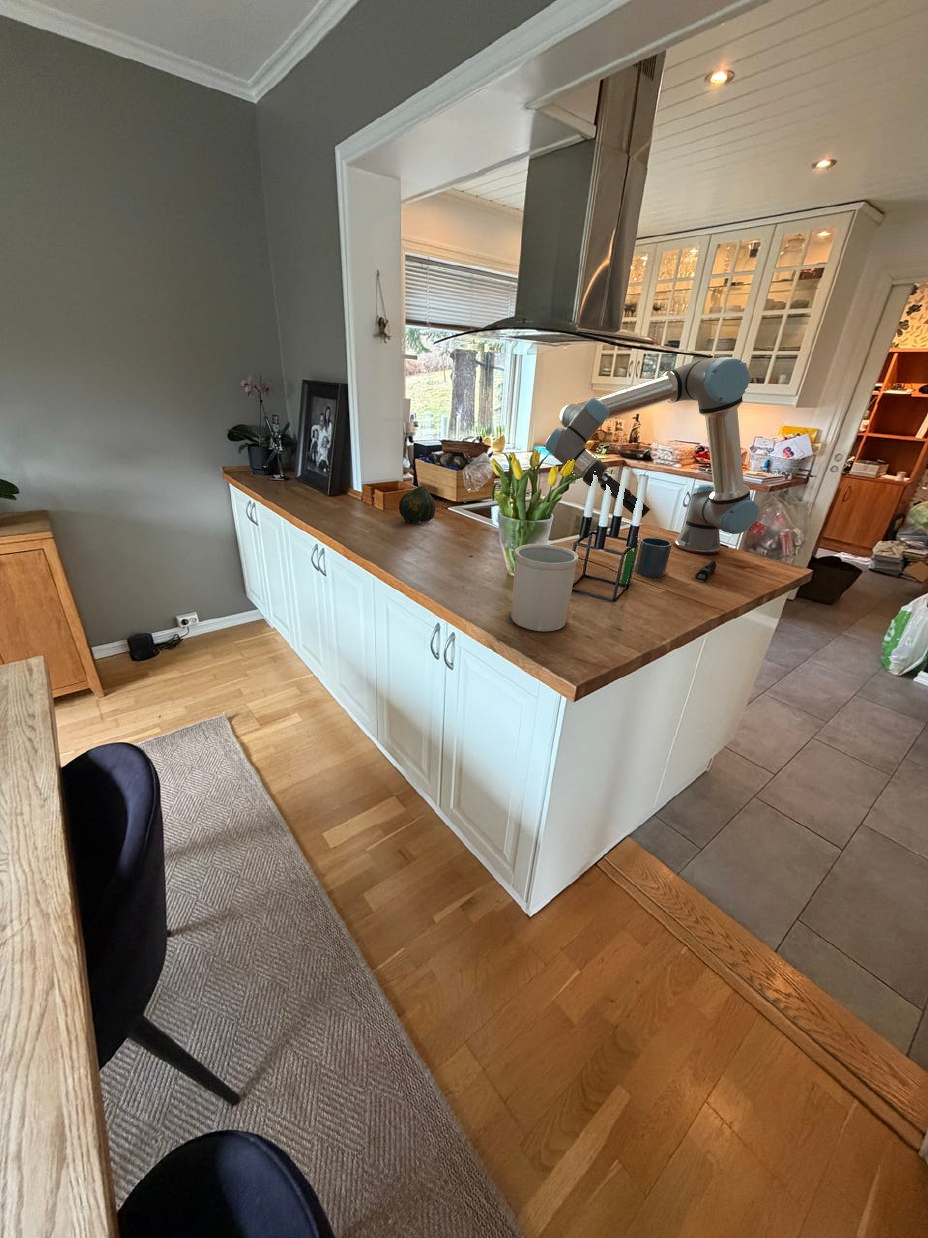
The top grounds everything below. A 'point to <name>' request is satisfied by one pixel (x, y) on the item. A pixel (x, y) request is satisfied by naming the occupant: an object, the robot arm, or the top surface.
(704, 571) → the electric trimmer
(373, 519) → the top surface
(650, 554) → the cup
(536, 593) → the utensil holder
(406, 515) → the squash
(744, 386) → the robot arm
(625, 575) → the green marker
